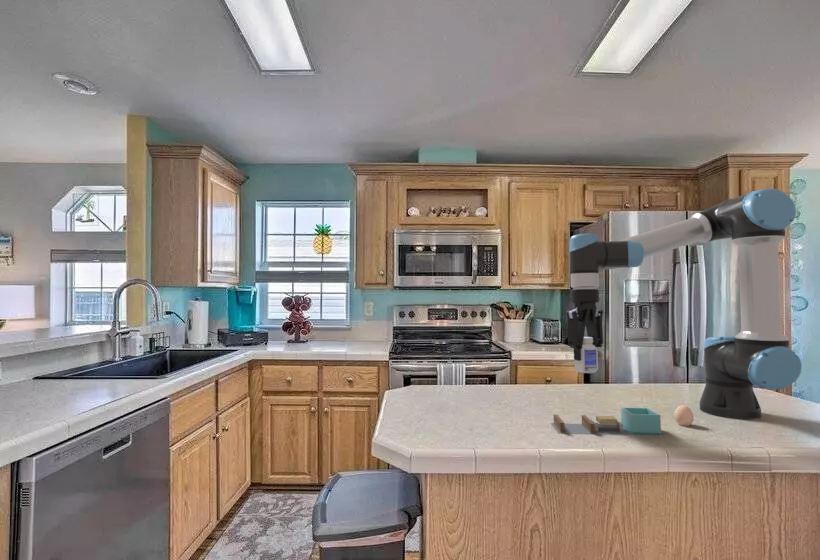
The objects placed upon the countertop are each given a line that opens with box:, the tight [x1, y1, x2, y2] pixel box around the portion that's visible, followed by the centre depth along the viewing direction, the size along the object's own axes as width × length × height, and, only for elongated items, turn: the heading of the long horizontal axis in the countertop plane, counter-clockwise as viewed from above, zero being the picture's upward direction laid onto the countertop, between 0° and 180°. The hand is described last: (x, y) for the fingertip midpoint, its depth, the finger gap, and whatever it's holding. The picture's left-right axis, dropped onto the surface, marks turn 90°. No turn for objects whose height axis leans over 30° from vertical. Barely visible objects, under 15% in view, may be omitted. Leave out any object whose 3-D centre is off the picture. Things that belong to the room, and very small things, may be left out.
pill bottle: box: [579, 336, 597, 374], centre depth 121 cm, size 5×5×10 cm
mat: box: [550, 422, 666, 438], centre depth 114 cm, size 26×9×1 cm, turn 84°
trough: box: [553, 414, 595, 435], centre depth 115 cm, size 8×8×2 cm
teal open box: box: [620, 406, 662, 435], centre depth 113 cm, size 7×7×5 cm
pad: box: [595, 415, 617, 424], centre depth 114 cm, size 4×3×1 cm
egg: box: [673, 404, 694, 427], centre depth 118 cm, size 4×4×6 cm
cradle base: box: [590, 418, 623, 432], centre depth 114 cm, size 7×4×2 cm, turn 84°
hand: (586, 370), depth 121 cm, fingers closed on pill bottle, 5 cm apart
